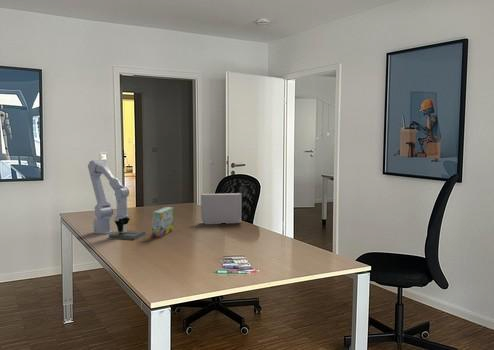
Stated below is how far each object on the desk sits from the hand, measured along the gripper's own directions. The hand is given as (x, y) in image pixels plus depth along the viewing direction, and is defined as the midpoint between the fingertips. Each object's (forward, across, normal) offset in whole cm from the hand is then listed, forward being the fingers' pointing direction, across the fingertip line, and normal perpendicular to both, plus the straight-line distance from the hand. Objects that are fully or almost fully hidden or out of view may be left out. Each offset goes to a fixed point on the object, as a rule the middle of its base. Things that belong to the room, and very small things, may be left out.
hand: (122, 230), depth 276 cm
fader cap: (+1, 0, 0) cm, 1 cm away
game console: (+3, +55, -44) cm, 71 cm away
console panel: (+3, 0, -3) cm, 5 cm away
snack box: (+3, +12, -20) cm, 24 cm away
